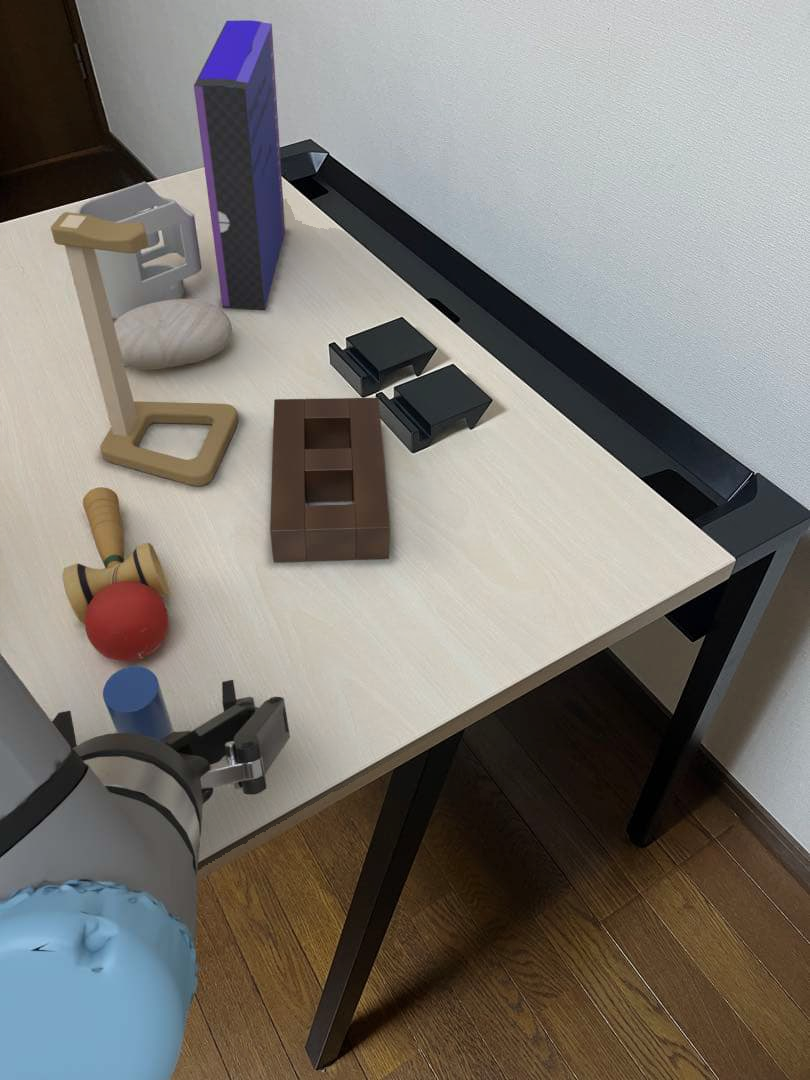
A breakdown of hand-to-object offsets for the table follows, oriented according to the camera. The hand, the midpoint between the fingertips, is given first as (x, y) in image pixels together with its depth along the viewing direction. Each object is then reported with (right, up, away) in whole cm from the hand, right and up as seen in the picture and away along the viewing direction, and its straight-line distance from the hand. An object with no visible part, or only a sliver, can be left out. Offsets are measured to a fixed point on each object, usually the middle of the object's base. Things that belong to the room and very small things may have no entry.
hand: (150, 715), depth 59 cm
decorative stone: (-7, +31, +33) cm, 46 cm away
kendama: (-6, +8, +12) cm, 16 cm away
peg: (+1, -5, +1) cm, 5 cm away
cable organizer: (-11, +39, +40) cm, 57 cm away
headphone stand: (-5, +21, +24) cm, 32 cm away
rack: (+10, +16, +21) cm, 28 cm away
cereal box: (-1, +44, +45) cm, 63 cm away
